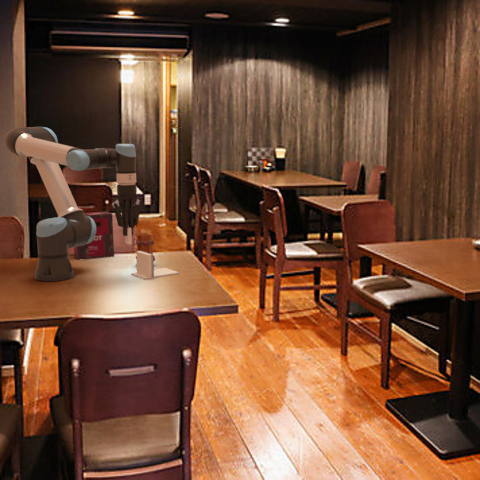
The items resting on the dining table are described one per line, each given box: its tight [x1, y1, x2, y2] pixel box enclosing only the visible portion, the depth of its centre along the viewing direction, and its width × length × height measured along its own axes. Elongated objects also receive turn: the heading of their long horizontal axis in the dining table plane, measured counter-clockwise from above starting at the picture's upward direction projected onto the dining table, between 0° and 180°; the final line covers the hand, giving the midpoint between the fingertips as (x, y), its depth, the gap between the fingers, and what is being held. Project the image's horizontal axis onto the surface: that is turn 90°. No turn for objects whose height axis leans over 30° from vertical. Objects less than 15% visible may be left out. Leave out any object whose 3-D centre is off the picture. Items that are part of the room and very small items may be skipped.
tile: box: [135, 250, 155, 277], centre depth 266 cm, size 10×2×9 cm, turn 38°
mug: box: [135, 228, 156, 262], centre depth 287 cm, size 15×8×15 cm, turn 14°
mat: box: [130, 267, 180, 281], centre depth 271 cm, size 11×16×1 cm
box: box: [73, 211, 115, 261], centre depth 305 cm, size 16×9×20 cm, turn 115°
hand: (128, 243), depth 261 cm, fingers closed
